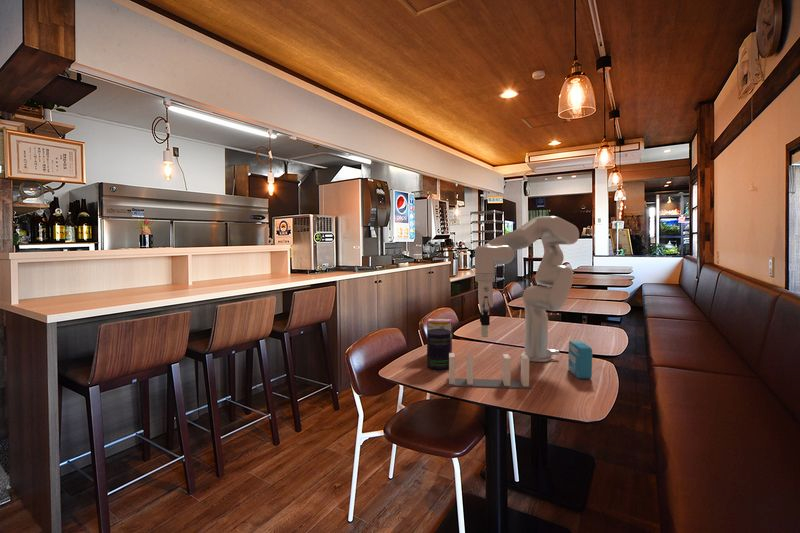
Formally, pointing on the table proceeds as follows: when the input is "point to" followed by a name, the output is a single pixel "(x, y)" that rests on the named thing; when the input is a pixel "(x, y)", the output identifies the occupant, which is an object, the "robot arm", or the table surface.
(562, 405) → the table surface
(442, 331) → the storage jar
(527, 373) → the domino
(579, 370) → the teal box
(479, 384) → the mat
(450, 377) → the domino
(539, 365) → the table surface
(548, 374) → the table surface
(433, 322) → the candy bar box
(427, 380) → the table surface
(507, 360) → the domino
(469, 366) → the domino
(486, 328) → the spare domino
